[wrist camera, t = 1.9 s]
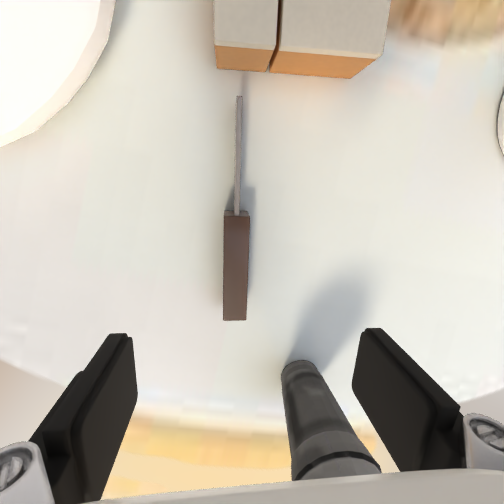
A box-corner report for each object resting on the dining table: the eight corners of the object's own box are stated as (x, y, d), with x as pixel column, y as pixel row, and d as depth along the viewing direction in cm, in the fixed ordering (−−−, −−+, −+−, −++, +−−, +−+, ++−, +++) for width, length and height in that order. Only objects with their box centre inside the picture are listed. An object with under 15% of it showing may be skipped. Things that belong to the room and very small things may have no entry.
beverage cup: (301, 339, 30) (428, 632, 11) (341, 372, 32) (506, 671, 13) (256, 379, 31) (301, 707, 12) (297, 409, 33) (391, 732, 14)
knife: (251, 105, 23) (254, 96, 20) (244, 305, 28) (246, 320, 25) (225, 103, 22) (224, 94, 19) (223, 305, 28) (223, 320, 25)
